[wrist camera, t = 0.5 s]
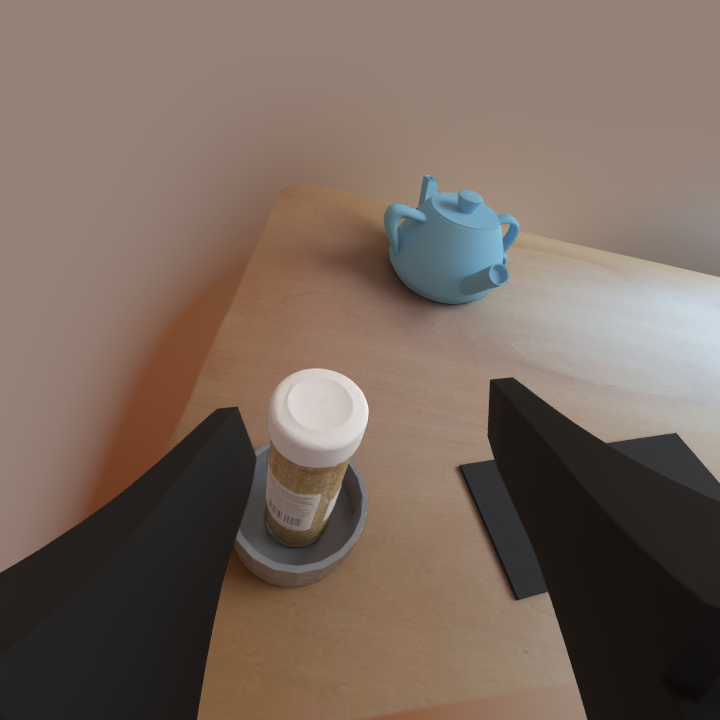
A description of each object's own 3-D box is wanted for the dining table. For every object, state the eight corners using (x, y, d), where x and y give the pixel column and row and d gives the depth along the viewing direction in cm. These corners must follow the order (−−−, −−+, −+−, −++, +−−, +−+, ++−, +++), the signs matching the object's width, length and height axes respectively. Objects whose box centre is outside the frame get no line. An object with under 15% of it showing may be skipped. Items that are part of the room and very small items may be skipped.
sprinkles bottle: (341, 520, 27) (390, 414, 18) (287, 565, 25) (311, 468, 15) (303, 472, 29) (328, 351, 20) (249, 508, 27) (248, 390, 17)
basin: (351, 596, 25) (362, 582, 22) (211, 576, 24) (206, 560, 21) (361, 469, 31) (371, 447, 28) (250, 450, 30) (250, 426, 27)
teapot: (357, 282, 47) (379, 193, 39) (407, 230, 59) (432, 152, 51) (474, 338, 45) (523, 255, 37) (502, 272, 56) (544, 197, 48)
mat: (516, 600, 27) (518, 599, 26) (459, 466, 33) (460, 464, 33) (757, 531, 35) (760, 530, 34) (674, 434, 41) (676, 432, 41)
